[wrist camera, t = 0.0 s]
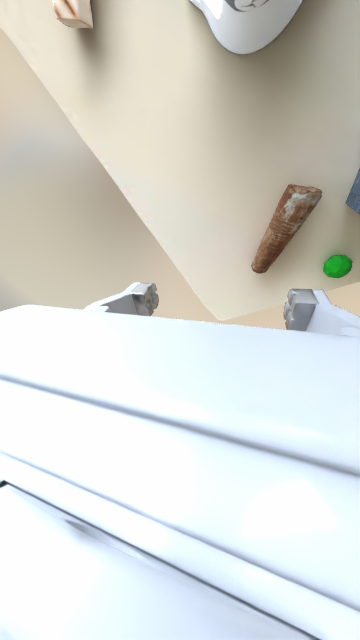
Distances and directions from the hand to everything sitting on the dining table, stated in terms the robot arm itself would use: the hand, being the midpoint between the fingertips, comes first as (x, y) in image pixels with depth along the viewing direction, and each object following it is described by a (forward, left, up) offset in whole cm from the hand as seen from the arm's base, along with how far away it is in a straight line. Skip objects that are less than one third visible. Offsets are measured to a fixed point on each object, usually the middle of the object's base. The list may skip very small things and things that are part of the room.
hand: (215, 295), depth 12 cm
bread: (+10, +9, -39) cm, 41 cm away
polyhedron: (+17, +22, -39) cm, 48 cm away
